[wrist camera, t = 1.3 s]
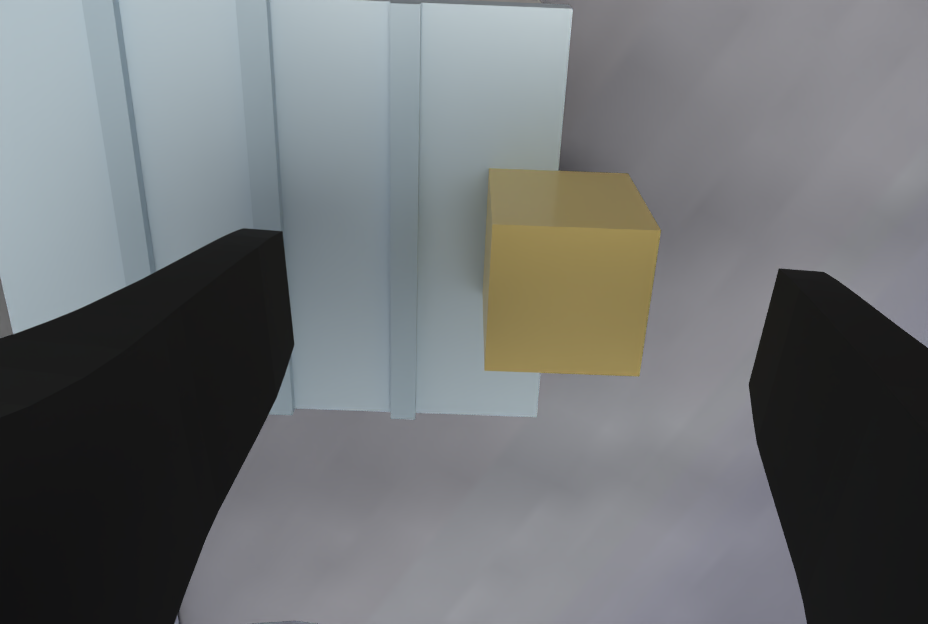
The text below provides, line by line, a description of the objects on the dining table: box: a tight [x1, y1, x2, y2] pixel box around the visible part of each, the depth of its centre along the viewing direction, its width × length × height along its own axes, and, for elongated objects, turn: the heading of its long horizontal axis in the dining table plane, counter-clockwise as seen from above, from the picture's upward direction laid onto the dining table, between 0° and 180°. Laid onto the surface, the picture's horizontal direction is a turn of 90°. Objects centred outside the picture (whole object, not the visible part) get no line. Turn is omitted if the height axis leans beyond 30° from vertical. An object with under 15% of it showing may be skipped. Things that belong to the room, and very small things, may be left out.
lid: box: [0, 0, 661, 420], centre depth 17 cm, size 10×14×4 cm
